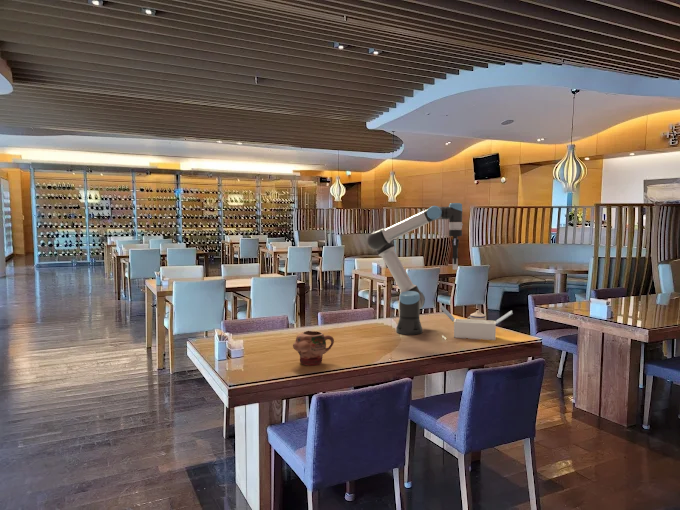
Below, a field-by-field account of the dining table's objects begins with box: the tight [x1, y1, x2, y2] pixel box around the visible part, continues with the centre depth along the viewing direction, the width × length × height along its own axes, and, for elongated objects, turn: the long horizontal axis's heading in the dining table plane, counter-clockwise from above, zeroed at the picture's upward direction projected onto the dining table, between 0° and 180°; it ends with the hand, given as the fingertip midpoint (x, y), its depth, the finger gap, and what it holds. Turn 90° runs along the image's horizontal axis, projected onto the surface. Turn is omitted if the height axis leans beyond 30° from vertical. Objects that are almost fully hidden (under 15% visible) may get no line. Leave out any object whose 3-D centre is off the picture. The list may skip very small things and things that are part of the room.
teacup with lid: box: [466, 310, 487, 320], centre depth 287 cm, size 12×9×12 cm
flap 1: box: [439, 305, 456, 322], centre depth 271 cm, size 10×9×1 cm
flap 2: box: [495, 310, 514, 325], centre depth 262 cm, size 10×9×1 cm
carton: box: [453, 318, 497, 341], centre depth 267 cm, size 22×9×9 cm, turn 73°
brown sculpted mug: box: [292, 330, 335, 366], centre depth 220 cm, size 20×12×14 cm, turn 121°
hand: (455, 269), depth 283 cm, fingers closed
